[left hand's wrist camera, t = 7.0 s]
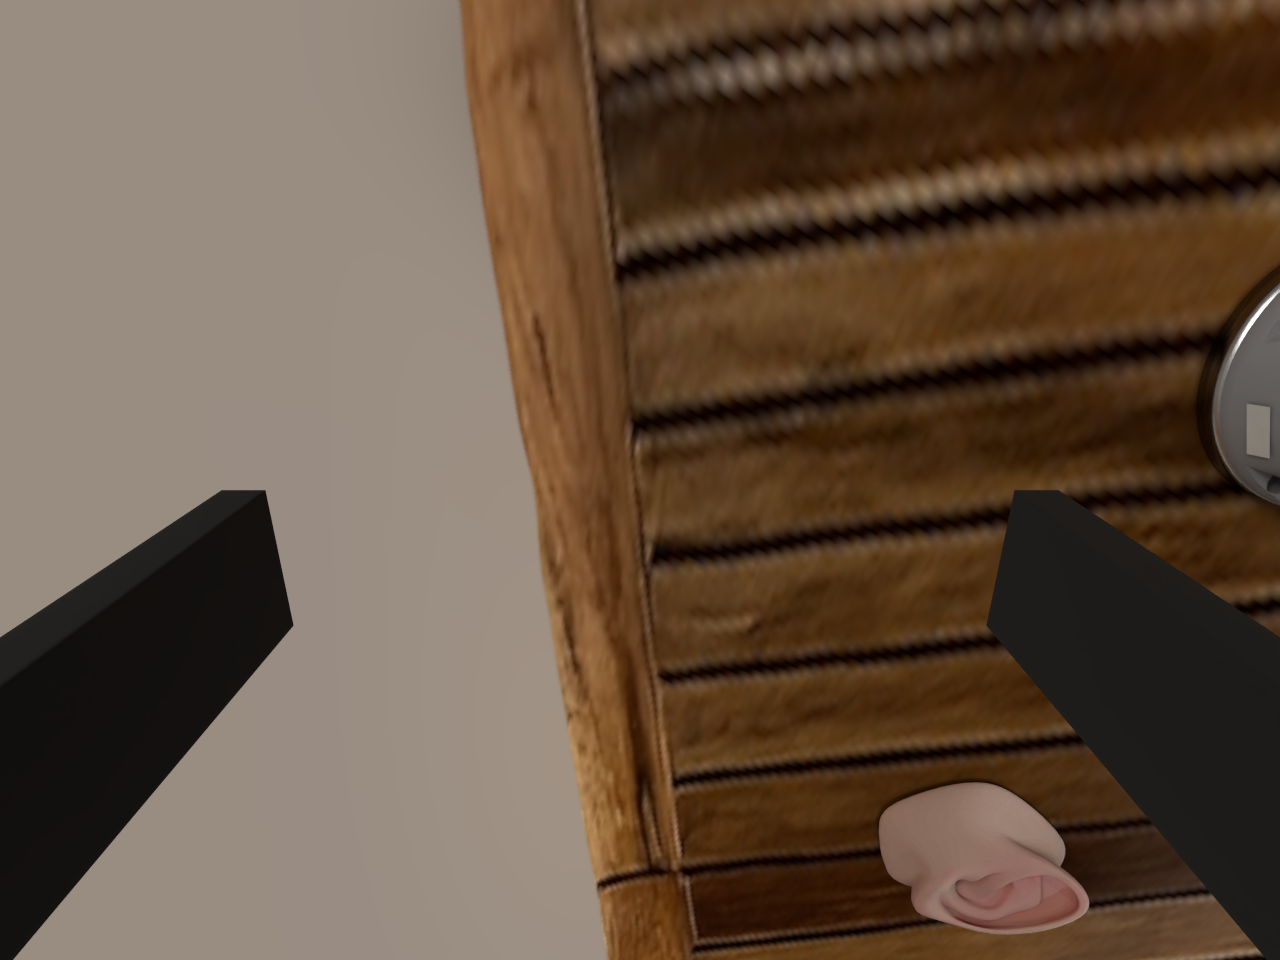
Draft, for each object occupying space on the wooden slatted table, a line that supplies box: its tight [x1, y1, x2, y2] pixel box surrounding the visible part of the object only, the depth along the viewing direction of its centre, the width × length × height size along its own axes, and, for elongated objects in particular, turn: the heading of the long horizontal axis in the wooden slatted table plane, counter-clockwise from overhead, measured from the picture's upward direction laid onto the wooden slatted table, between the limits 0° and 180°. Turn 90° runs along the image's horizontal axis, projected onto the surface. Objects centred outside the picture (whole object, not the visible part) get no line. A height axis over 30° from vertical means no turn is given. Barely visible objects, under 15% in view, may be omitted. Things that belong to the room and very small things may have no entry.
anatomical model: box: [879, 782, 1089, 934], centre depth 48 cm, size 13×4×12 cm
